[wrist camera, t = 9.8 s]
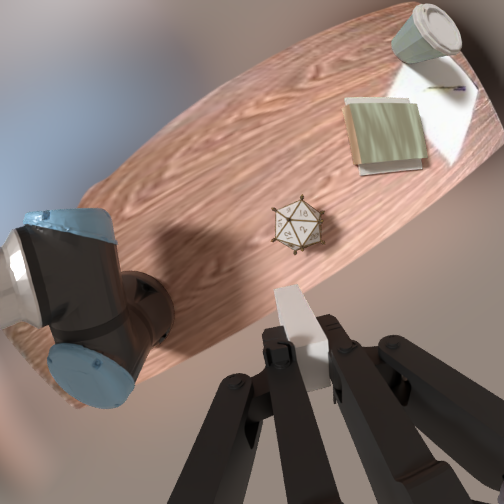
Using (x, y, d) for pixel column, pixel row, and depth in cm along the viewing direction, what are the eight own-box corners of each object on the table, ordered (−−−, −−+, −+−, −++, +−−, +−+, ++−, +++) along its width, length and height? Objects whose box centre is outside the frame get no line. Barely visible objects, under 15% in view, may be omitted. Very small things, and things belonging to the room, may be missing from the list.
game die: (296, 210, 49) (341, 198, 41) (296, 258, 48) (343, 254, 40) (256, 200, 44) (300, 183, 36) (254, 253, 43) (301, 247, 35)
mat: (359, 175, 44) (361, 175, 44) (344, 98, 41) (345, 97, 40) (420, 168, 44) (422, 168, 43) (407, 99, 41) (408, 98, 40)
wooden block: (362, 163, 40) (427, 157, 39) (349, 103, 37) (416, 103, 37) (353, 164, 43) (416, 158, 43) (341, 108, 41) (406, 107, 40)
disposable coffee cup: (426, 49, 37) (467, 27, 23) (419, 83, 40) (466, 64, 25) (385, 22, 36) (421, -9, 21) (376, 56, 38) (416, 24, 24)
